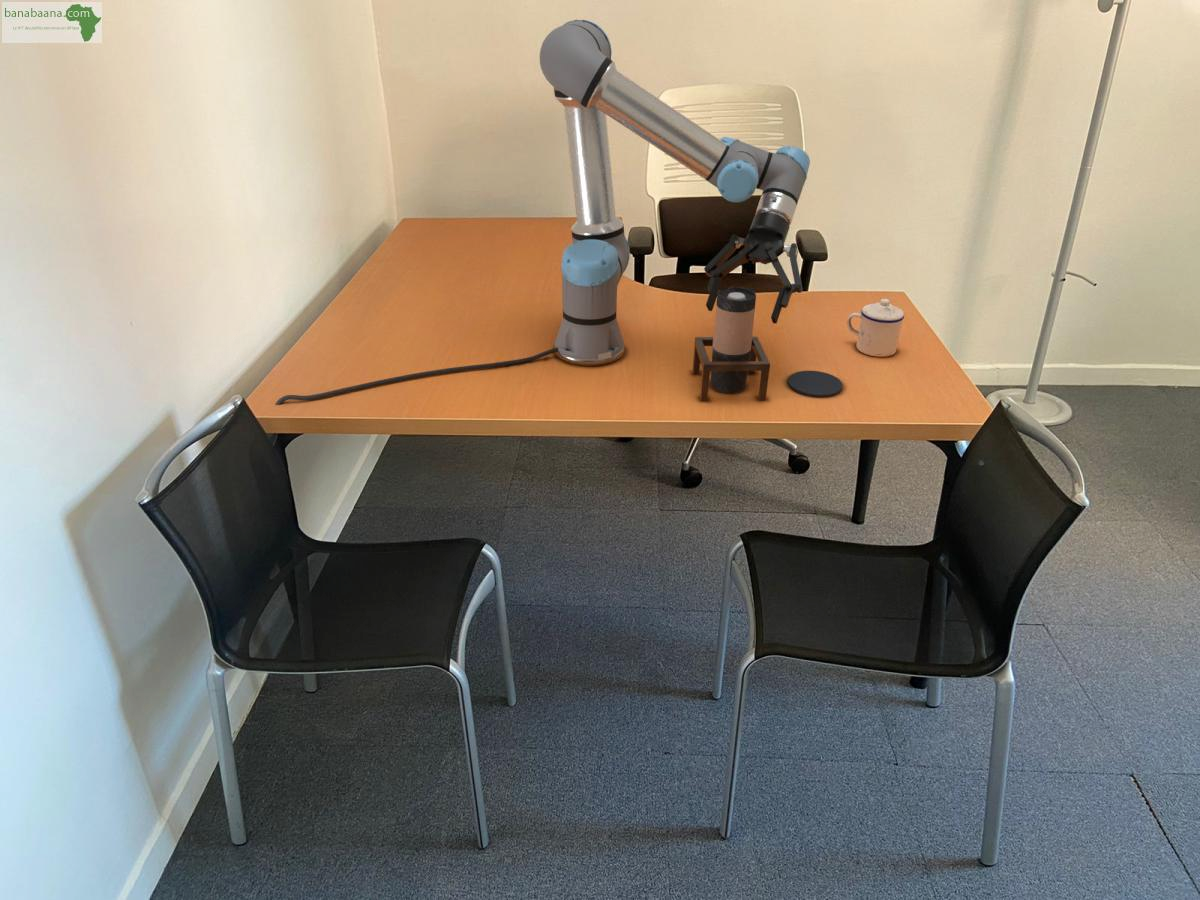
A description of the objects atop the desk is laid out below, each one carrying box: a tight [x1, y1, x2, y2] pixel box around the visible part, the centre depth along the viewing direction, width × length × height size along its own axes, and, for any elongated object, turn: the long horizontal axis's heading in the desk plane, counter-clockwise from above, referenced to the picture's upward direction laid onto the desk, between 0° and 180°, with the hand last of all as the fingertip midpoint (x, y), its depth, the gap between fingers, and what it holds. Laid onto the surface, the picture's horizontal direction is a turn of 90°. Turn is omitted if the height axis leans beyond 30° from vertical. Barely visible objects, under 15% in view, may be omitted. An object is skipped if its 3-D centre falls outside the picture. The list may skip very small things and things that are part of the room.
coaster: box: [787, 370, 843, 398], centre depth 178 cm, size 11×11×1 cm
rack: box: [692, 336, 771, 402], centre depth 176 cm, size 13×13×8 cm
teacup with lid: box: [846, 298, 905, 358], centre depth 192 cm, size 12×9×12 cm
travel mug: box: [710, 286, 757, 394], centre depth 173 cm, size 8×8×20 cm
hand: (740, 314), depth 173 cm, fingers open, 13 cm apart
